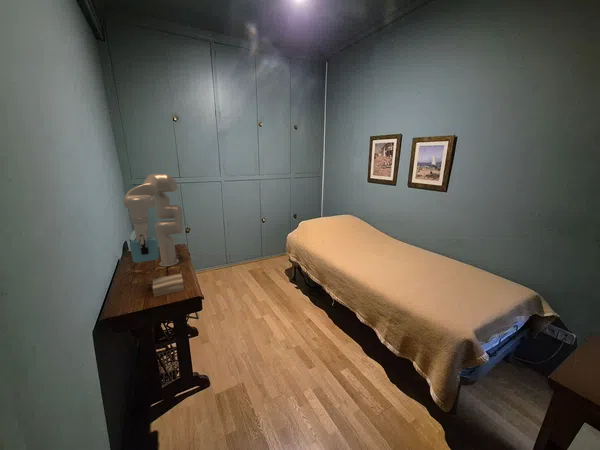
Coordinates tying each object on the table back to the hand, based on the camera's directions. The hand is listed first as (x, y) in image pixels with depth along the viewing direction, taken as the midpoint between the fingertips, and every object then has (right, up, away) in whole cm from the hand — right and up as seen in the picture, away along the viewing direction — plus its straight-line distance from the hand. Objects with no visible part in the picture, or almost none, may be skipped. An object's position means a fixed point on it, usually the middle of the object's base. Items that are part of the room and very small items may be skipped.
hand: (145, 252), depth 130 cm
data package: (0, -5, +1) cm, 5 cm away
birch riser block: (+9, -22, +8) cm, 25 cm away
